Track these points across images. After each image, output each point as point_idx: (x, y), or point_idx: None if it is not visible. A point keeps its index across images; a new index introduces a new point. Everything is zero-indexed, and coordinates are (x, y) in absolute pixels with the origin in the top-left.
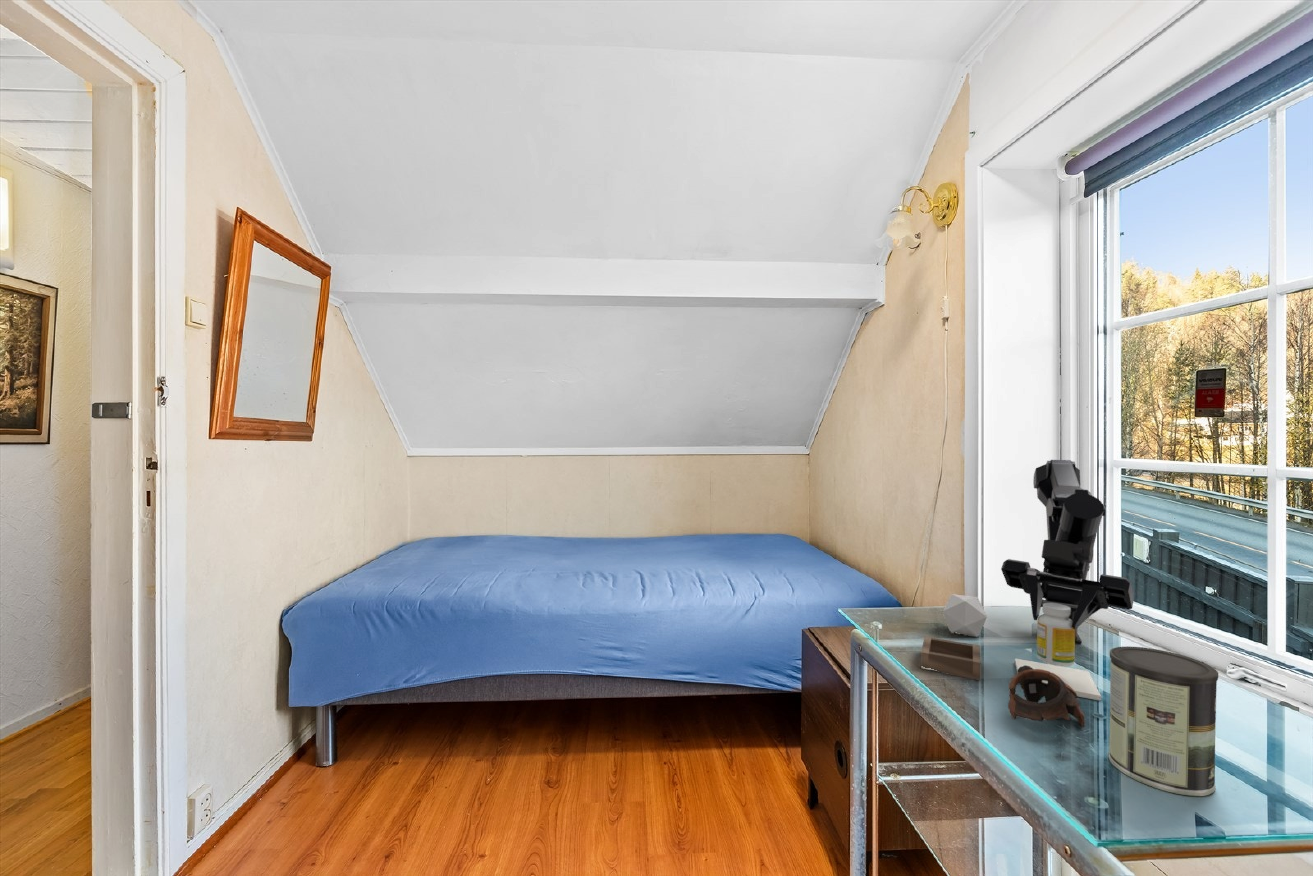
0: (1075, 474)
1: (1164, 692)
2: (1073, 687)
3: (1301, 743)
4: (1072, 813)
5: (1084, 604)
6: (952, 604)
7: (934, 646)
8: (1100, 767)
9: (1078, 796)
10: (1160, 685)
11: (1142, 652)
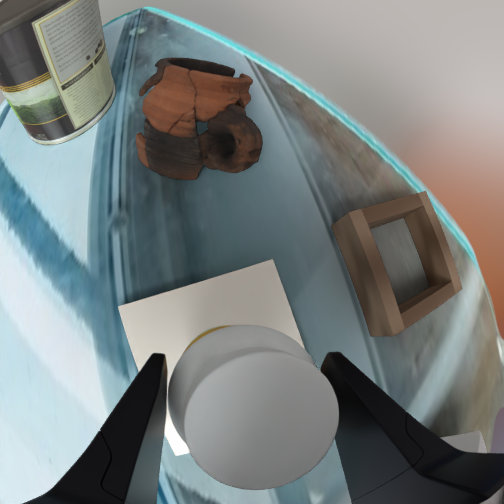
0: None
1: None
2: (171, 313)
3: None
4: (156, 15)
5: (99, 459)
6: (481, 448)
7: (438, 286)
8: (126, 71)
9: (150, 28)
10: None
11: (35, 2)
